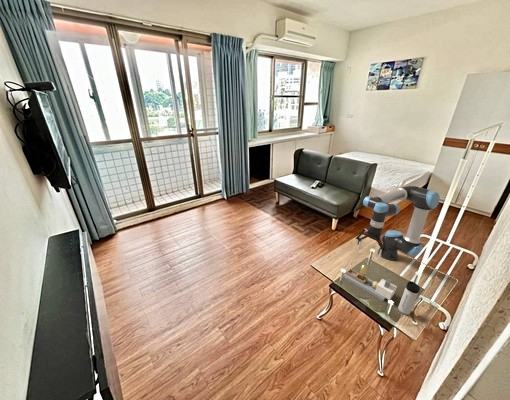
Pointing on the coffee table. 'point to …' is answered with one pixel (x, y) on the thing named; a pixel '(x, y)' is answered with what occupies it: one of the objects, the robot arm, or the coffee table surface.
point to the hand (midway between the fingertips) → (368, 253)
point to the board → (363, 283)
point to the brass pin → (363, 272)
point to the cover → (386, 288)
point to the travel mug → (408, 298)
